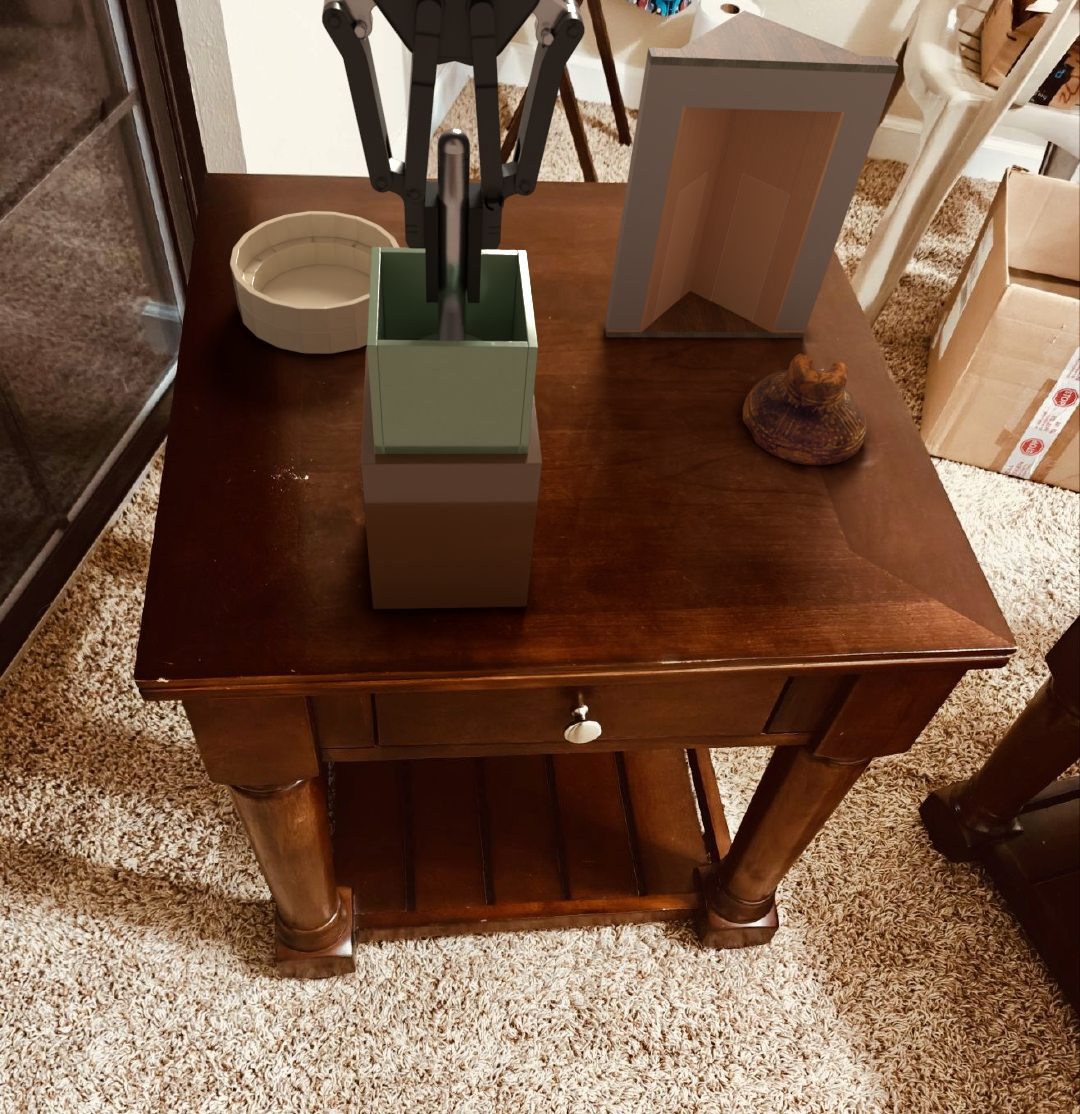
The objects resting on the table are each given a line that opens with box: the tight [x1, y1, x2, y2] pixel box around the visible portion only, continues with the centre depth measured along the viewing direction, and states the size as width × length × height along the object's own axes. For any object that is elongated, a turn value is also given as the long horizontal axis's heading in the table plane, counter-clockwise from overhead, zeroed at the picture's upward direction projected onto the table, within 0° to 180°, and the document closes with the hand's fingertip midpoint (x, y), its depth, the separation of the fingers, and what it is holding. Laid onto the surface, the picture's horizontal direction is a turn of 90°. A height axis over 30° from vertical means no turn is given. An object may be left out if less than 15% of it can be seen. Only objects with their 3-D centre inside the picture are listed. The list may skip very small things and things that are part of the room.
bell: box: [742, 353, 868, 466], centre depth 92 cm, size 12×12×7 cm
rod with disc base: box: [420, 127, 482, 341], centre depth 61 cm, size 6×6×19 cm
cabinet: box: [603, 10, 899, 339], centre depth 95 cm, size 21×10×28 cm, turn 95°
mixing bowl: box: [229, 210, 401, 355], centre depth 98 cm, size 16×16×6 cm
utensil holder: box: [360, 247, 543, 610], centre depth 72 cm, size 12×12×25 cm
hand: (452, 289), depth 62 cm, fingers closed on rod with disc base, 2 cm apart
